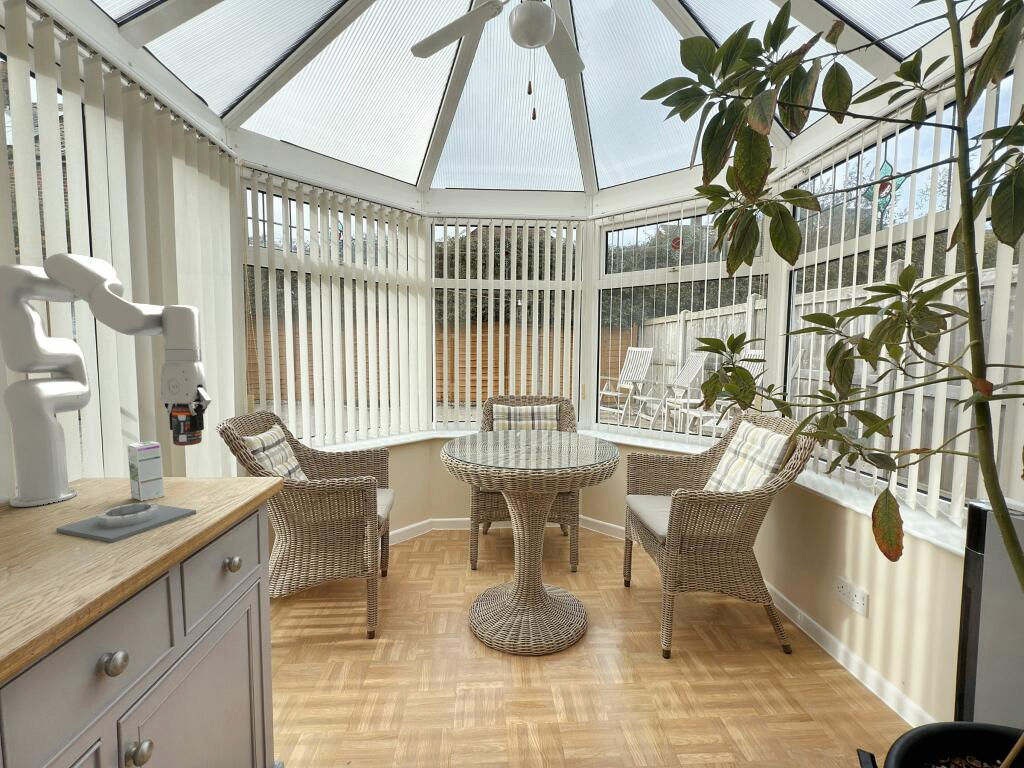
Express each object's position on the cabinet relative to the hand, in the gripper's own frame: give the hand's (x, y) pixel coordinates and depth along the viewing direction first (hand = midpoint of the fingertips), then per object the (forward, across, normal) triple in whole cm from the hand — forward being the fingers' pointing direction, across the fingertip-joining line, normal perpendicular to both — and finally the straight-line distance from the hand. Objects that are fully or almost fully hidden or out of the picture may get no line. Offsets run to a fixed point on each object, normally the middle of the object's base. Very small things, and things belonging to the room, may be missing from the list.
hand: (187, 429), depth 120 cm
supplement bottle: (+4, 0, 0) cm, 4 cm away
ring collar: (+19, -3, -13) cm, 23 cm away
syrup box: (+20, -17, +2) cm, 26 cm away
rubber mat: (+19, -3, -13) cm, 23 cm away
